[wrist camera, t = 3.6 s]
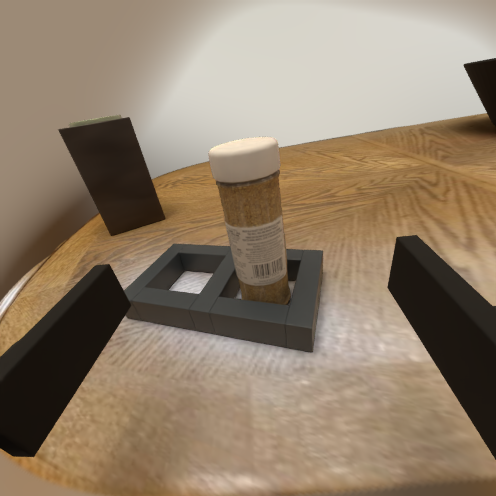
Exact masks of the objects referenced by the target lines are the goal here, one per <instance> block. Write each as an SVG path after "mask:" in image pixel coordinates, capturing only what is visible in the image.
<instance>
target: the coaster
mask: <svg viewBox="0 0 496 496" xmlns="http://www.w3.org/2000/svg"><path fill="white" fill-rule="evenodd" d="M115 119H121V115H116V116H109V117H104V118H97V119H91V120H85V121H80V122H74V123H70V124H69V126H70V127H75V126H81V125H86V124H92V123H98V122H104V121H109V120H115Z"/></svg>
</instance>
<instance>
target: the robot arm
mask: <svg viewBox="0 0 496 496" xmlns="http://www.w3.org/2000/svg"><path fill="white" fill-rule="evenodd" d="M388 289H389V291H390V292H391V294H392V296H393V297H394V299H395V300H396V302H397V303H398V305H399V307H400V308H401V310H402V311H403V313H404V315H405V316H406V318H407V319H408V321H409V323H410V324H411V326H412V327H413V329H414V331H415V332H416V334H417V335H418V337H419V338H420V340H421V342H422V343H423V345H424V346H425V348H426V350H427V351H428V353H429V354H430V356H431V358H432V359H433V361H434V362H435V364H436V366H437V367H438V369H439V370H440V372H441V374H442V375H443V377H444V378H445V380H446V381H447V383H448V385H449V386H450V388H451V389H452V391H453V393H454V394H455V396H456V397H457V399H458V401H459V402H460V404H461V405H462V407H463V409H464V410H465V412H466V413H467V415H468V416H469V418H470V420H471V421H472V423H473V424H474V426H475V428H476V429H477V431H478V432H479V434H480V436H481V437H482V439H483V440H484V442H485V444H486V445H487V447H488V448H489V450H490V451H491V453H492V455H493V456H494V458H495V459H496V306H492V305H491V304H490V303H489V302H488V301H487V300H486V299H484V298H483V297H482V296H481V295H480V294H479V293H478V292H477V291H476V290H475V289H474V288H473V287H472V286H471V285H469V284H468V283H467V282H466V281H465V280H464V279H463V278H462V277H461V276H460V275H459V274H458V273H457V272H455V271H454V270H453V269H452V268H451V267H450V266H449V265H448V264H447V263H446V262H445V261H444V260H443V259H442V258H440V257H439V256H438V255H437V254H436V253H435V252H434V251H433V250H432V249H431V248H430V247H429V246H428V245H427V244H425V243H424V242H423V241H422V240H421V239H420V238H419V237H418V236H417V235H413V236H403V237H397V238H396V244H395V249H394V255H393V260H392V266H391V271H390V277H389V282H388ZM130 307H131V303H130V301H129V300H128V298H127V296H126V294H125V292H124V290H123V288H122V287H121V285H120V283H119V281H118V279H117V277H116V275H115V274H114V272H113V270H112V268H111V266H110V264H106V265H96V266H94V267H93V268H92V269H91V270H90V271H89V272H88V273H87V274H86V275H85V276H84V277H83V278H82V279H81V280H80V281H79V282H78V283H77V284H76V285H75V286H74V287H73V288H72V289H71V290H70V291H69V292H68V293H67V294H66V295H65V296H64V297H63V298H62V299H61V300H60V301H59V302H58V303H57V304H56V305H55V306H54V307H53V308H52V309H51V310H50V311H49V312H48V313H47V314H46V315H45V316H44V317H43V318H42V319H41V320H40V321H39V322H38V323H37V324H36V325H35V326H34V327H33V328H32V329H31V330H30V331H29V332H28V333H27V334H26V335H25V336H24V337H23V338H22V339H20V340H19V341H17V342H16V343H15V344H13V345H12V346H11V347H10V348H9V349H8V350H7V351H6V352H5V353H4V354H3V355H2V356H1V357H0V448H1V449H2V450H4V451H6V452H7V453H9V454H10V455H12V456H16V457H34V456H35V454H36V453H37V451H38V450H39V448H40V447H41V445H42V444H43V442H44V440H45V439H46V437H47V436H48V434H49V433H50V431H51V430H52V428H53V427H54V425H55V423H56V422H57V420H58V419H59V417H60V416H61V414H62V413H63V411H64V409H65V408H66V406H67V405H68V403H69V402H70V400H71V399H72V397H73V395H74V394H75V392H76V391H77V389H78V388H79V386H80V385H81V383H82V382H83V380H84V378H85V377H86V375H87V374H88V372H89V371H90V369H91V368H92V366H93V364H94V363H95V361H96V360H97V358H98V357H99V355H100V354H101V352H102V350H103V349H104V347H105V346H106V344H107V343H108V341H109V340H110V338H111V337H112V335H113V333H114V332H115V330H116V329H117V327H118V326H119V324H120V323H121V321H122V319H123V318H124V316H125V315H126V313H127V312H128V310H129V309H130Z"/></svg>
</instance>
